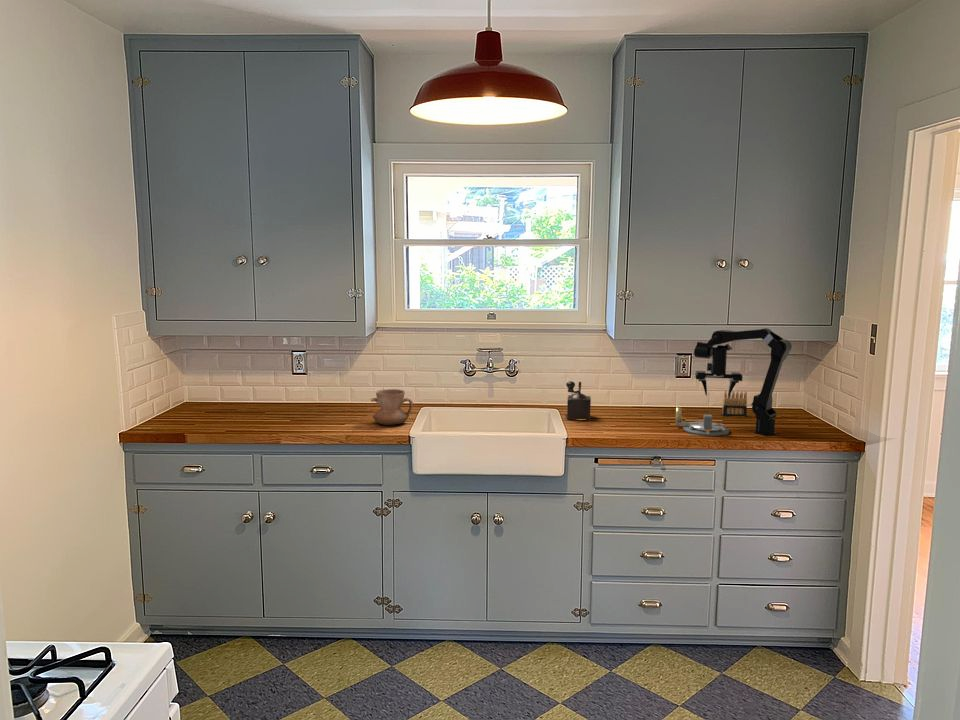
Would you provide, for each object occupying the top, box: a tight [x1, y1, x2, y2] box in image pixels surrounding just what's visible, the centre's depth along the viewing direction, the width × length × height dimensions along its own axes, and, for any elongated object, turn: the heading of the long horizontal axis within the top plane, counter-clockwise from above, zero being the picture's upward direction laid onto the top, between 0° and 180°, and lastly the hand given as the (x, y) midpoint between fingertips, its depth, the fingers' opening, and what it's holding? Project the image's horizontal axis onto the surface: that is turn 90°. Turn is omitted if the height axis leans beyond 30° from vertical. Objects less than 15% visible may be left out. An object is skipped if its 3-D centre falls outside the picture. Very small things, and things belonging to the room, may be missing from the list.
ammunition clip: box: [721, 389, 748, 417], centre depth 317 cm, size 11×2×12 cm, turn 83°
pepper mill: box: [565, 380, 592, 420], centre depth 309 cm, size 16×11×18 cm
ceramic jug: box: [370, 388, 414, 426], centre depth 299 cm, size 18×14×14 cm
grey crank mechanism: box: [674, 406, 726, 432], centre depth 290 cm, size 20×15×7 cm
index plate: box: [683, 426, 730, 437], centre depth 289 cm, size 18×18×1 cm
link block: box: [702, 413, 713, 429], centre depth 285 cm, size 3×6×5 cm, turn 165°
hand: (717, 395), depth 297 cm, fingers open, 9 cm apart
